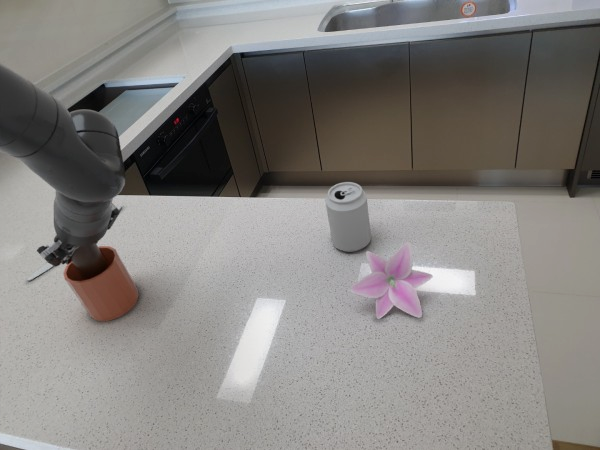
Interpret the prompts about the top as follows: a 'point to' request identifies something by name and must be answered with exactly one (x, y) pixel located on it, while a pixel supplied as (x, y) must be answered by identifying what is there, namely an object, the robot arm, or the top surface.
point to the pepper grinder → (89, 261)
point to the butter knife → (48, 265)
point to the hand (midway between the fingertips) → (78, 249)
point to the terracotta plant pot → (104, 288)
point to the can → (348, 216)
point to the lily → (392, 282)
